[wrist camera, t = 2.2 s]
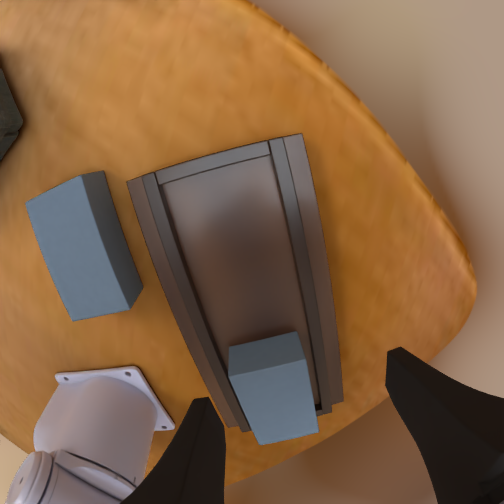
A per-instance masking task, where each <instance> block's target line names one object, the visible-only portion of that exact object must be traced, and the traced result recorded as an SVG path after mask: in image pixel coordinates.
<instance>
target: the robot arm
mask: <svg viewBox="0 0 504 504" xmlns="http://www.w3.org/2000/svg"><path fill="white" fill-rule="evenodd" d="M128 372H130V373H128ZM55 378H56V380H57V382H58V383H59V385H58V387H57V389H56V390H55V392H54V394H53V395H52V397H51V399H50V400H49V402H48V404H47V406H46V407H45V409H44V411H43V413H42V414H41V416H40V418H39V420H38V422H37V424H36V426H35V429H34V447H35V451H36V452H32V453H30V454H29V455H28V457H26V459H25V460H24V461H23V463H22V464H21V466H20V467H19V469H18V471H17V473H16V475H15V477H14V479H13V481H12V483H11V486H10V489H9V492H8V496H7V500H6V502H5V504H224V478H225V458H226V442H225V430H224V425H223V423H222V421H221V420H220V418H219V416H218V414H217V412H216V410H215V408H214V406H213V404H212V403H211V401H210V399H209V397H204V398H197V399H194V400H193V401H192V403H191V405H190V407H189V409H188V411H187V413H186V415H185V417H184V419H183V421H182V423H181V425H180V427H179V429H178V431H177V432H176V434H175V436H174V438H173V439H172V441H171V443H170V445H169V446H168V448H167V449H166V451H165V452H164V454H163V455H162V457H161V459H160V460H159V461H158V463H157V464H156V466H155V467H154V468H153V469H152V471H151V472H150V473H149V474H148V476H147V477H146V478H145V479H144V476H145V471H146V466H147V461H148V456H149V452H150V447H151V443H152V438H153V434H154V431H160V430H173V429H174V428H175V424H174V422H173V421H172V420H171V418H170V417H169V415H168V414H167V412H166V411H165V409H164V408H163V406H162V405H161V403H160V402H159V400H158V399H157V397H156V396H155V394H154V392H153V391H152V389H151V388H150V386H149V384H148V383H147V381H146V379H145V378H144V376H143V374H142V373H141V371H140V370H139V368H137V367H135V366H129V367H120V368H111V369H102V370H91V371H79V372H64V373H57V374H56V375H55ZM385 386H386V388H387V390H388V393H389V395H390V398H391V399H392V402H393V404H394V406H395V408H396V409H397V411H398V413H399V415H400V416H401V418H402V420H403V421H404V423H405V425H406V426H407V428H408V430H409V431H410V433H411V435H412V437H413V438H414V440H415V442H416V444H417V446H418V448H419V450H420V452H421V455H422V457H423V459H424V462H425V465H426V467H427V470H428V473H429V475H430V478H431V481H432V484H433V488H434V491H435V494H436V498H437V502H438V504H504V398H500V397H497V396H493V395H490V394H487V393H484V392H481V391H478V390H476V389H473V388H471V387H468V386H466V385H464V384H462V383H460V382H458V381H456V380H454V379H452V378H450V377H448V376H446V375H445V374H443V373H441V372H439V371H438V370H436V369H435V368H433V367H431V366H430V365H428V364H427V363H425V362H423V361H422V360H420V359H419V358H417V357H416V356H414V355H413V354H411V353H410V352H408V351H407V350H405V349H404V348H402V347H398V348H395V349H393V350H390V351H387V368H386V383H385Z"/></svg>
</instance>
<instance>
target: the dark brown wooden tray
mask: <svg viewBox="0 0 504 504" xmlns="http://www.w3.org/2000/svg"><path fill="white" fill-rule="evenodd" d="M127 186H128V189H129V192H130V196H131V199H132V202H133V206H134V209H135V212H136V215H137V218H138V221H139V224H140V227H141V230H142V233H143V236H144V239H145V242H146V245H147V247H148V250H149V253H150V256H151V259H152V261H153V264H154V267H155V269H156V272H157V275H158V277H159V280H160V282H161V285H162V288H163V290H164V293H165V295H166V298H167V300H168V303H169V305H170V307H171V310H172V312H173V315H174V317H175V319H176V322H177V324H178V326H179V329H180V331H181V333H182V335H183V338H184V340H185V342H186V344H187V347H188V349H189V351H190V353H191V355H192V357H193V360H194V362H195V364H196V366H197V368H198V370H199V372H200V374H201V376H202V378H203V380H204V382H205V384H206V386H207V388H208V390H209V392H210V394H211V396H212V398H213V400H214V402H215V404H216V406H217V408H218V410H219V412H220V414H221V415H222V417H223V419H224V421H225V423H226V425H227V426H228V427H235V426H239V427H240V429H241V431H242V432H247V431H252V429H251V426H250V424H249V422H248V420H247V418H246V416H245V413H244V411H243V409H242V407H241V405H240V402H239V400H238V398H237V395H236V393H235V391H234V389H233V386H232V384H231V382H230V379H229V377H228V370H229V347H230V346H235V345H240V344H244V343H249V342H253V341H258V340H262V339H266V338H270V337H274V336H278V335H283V334H286V333H290V332H294V331H297V333H298V336H299V339H300V342H301V345H302V348H303V351H304V354H305V357H306V361H307V366H308V372H309V377H310V382H311V388H312V393H313V399H314V404H315V410H316V416H320V415H323V414H327V413H331V412H332V405H333V404H336V403H340V402H343V401H344V400H343V386H342V374H341V362H340V352H339V342H338V333H337V324H336V316H335V308H334V300H333V293H332V286H331V279H330V272H329V266H328V260H327V253H326V247H325V241H324V236H323V230H322V224H321V219H320V214H319V208H318V203H317V198H316V193H315V188H314V183H313V179H312V174H311V169H310V165H309V160H308V156H307V152H306V147H305V143H304V139H303V135H302V133H300V134H295V135H290V136H285V137H278V138H274V139H269V140H265V141H260V142H256V143H252V144H248V145H244V146H240V147H236V148H232V149H228V150H224V151H220V152H217V153H213V154H209V155H206V156H202V157H199V158H195V159H192V160H189V161H185V162H182V163H179V164H176V165H173V166H169V167H166V168H163V169H160V170H157V171H154V172H151V173H148V174H145V175H142V176H141V177H138V178H135V179H132V180H129V181H127Z"/></svg>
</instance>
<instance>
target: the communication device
mask: <svg viewBox="0 0 504 504" xmlns="http://www.w3.org/2000/svg"><path fill="white" fill-rule="evenodd" d="M22 124H23V120H22V117H21V115H20V113H19V111H18V108H17V106H16V104H15V102H14V99H13V97H12V94H11V92H10V89H9V87H8V84H7V82H6V79H5V77H4V74H3V71H2V69H0V160H1V159H2V157H3V156H4V154H5V153H6V151H7V150H8V148H9V147H10V146H11V144H12V143H13V141H14V140H15V139H16V137H17V136H18V134H19V132H18V130H19V128H20V127H21V126H22Z"/></svg>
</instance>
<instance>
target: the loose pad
mask: <svg viewBox="0 0 504 504" xmlns="http://www.w3.org/2000/svg"><path fill="white" fill-rule="evenodd" d="M25 204H26V208H27V211H28V214H29V218H30V221H31V224H32V227H33V230H34V233H35V236H36V239H37V241H38V244H39V247H40V250H41V252H42V255H43V257H44V260H45V262H46V265H47V267H48V270H49V272H50V275H51V277H52V279H53V282H54V284H55V286H56V288H57V291H58V293H59V295H60V297H61V299H62V301H63V303H64V305H65V307H66V309H67V311H68V313H69V315H70V317H71V319H72V321H78V320H83V319H88V318H93V317H98V316H102V315H107V314H112V313H117V312H121V311H126V310H130V309H131V307H132V306H133V304H134V302H135V301H136V299H137V297H138V296H139V294H140V293H141V291H142V289H143V285H142V282H141V280H140V277H139V275H138V272H137V270H136V267H135V265H134V262H133V259H132V257H131V254H130V251H129V249H128V246H127V243H126V240H125V237H124V235H123V232H122V229H121V226H120V223H119V220H118V217H117V214H116V211H115V208H114V204H113V201H112V198H111V195H110V191H109V188H108V185H107V181H106V178H105V174H104V171H98V172H93V173H88V174H83V175H79V176H77V177H75V178H73V179H71V180H69V181H66V182H64V183H62V184H60V185H58V186H56V187H54V188H52V189H50V190H48V191H46V192H44V193H42V194H40V195H38V196H37V197H35V198H33V199H31V200H29V201H27V202H26V203H25Z"/></svg>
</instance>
